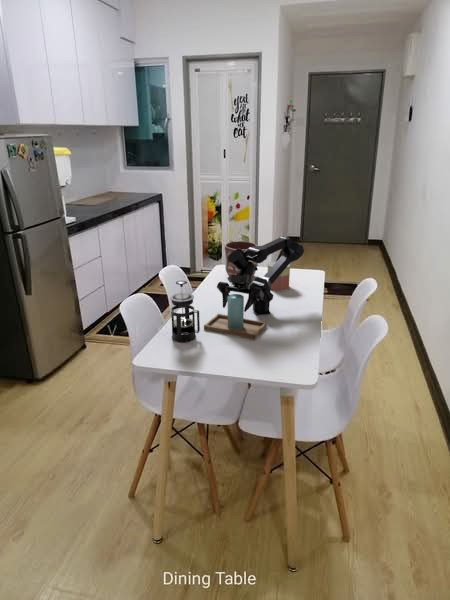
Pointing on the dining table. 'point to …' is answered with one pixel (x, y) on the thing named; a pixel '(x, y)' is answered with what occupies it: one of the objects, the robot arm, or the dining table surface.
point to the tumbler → (235, 311)
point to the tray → (248, 331)
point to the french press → (183, 323)
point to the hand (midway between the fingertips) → (234, 309)
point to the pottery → (232, 247)
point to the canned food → (280, 279)
